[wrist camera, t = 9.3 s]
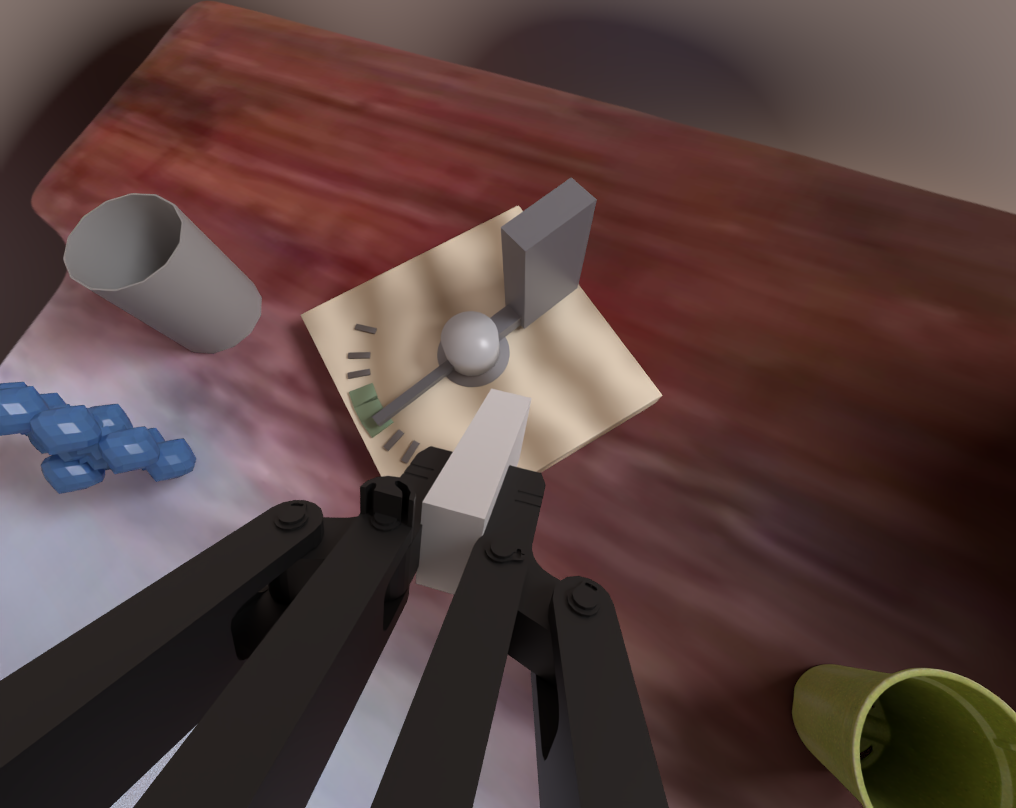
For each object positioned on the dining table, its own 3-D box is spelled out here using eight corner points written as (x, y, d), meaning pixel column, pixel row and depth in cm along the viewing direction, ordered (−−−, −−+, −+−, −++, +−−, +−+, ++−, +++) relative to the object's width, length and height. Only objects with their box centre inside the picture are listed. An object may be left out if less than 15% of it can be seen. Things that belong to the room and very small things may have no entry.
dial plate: (518, 220, 43) (518, 203, 41) (654, 403, 37) (663, 394, 35) (311, 326, 40) (299, 313, 38) (421, 544, 34) (414, 544, 32)
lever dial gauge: (394, 444, 34) (344, 403, 24) (362, 403, 35) (302, 348, 25) (585, 295, 37) (607, 208, 28) (550, 262, 38) (560, 168, 29)
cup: (280, 298, 41) (207, 222, 31) (220, 369, 39) (123, 310, 29) (213, 260, 42) (124, 177, 33) (152, 326, 40) (39, 258, 31)
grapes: (72, 478, 36) (-135, 445, 25) (121, 404, 38) (-50, 342, 27) (193, 527, 34) (32, 516, 23) (237, 447, 36) (109, 401, 25)
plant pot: (831, 835, 27) (964, 957, 19) (734, 684, 30) (814, 735, 22) (941, 747, 29) (1110, 826, 21) (838, 610, 31) (951, 632, 23)
